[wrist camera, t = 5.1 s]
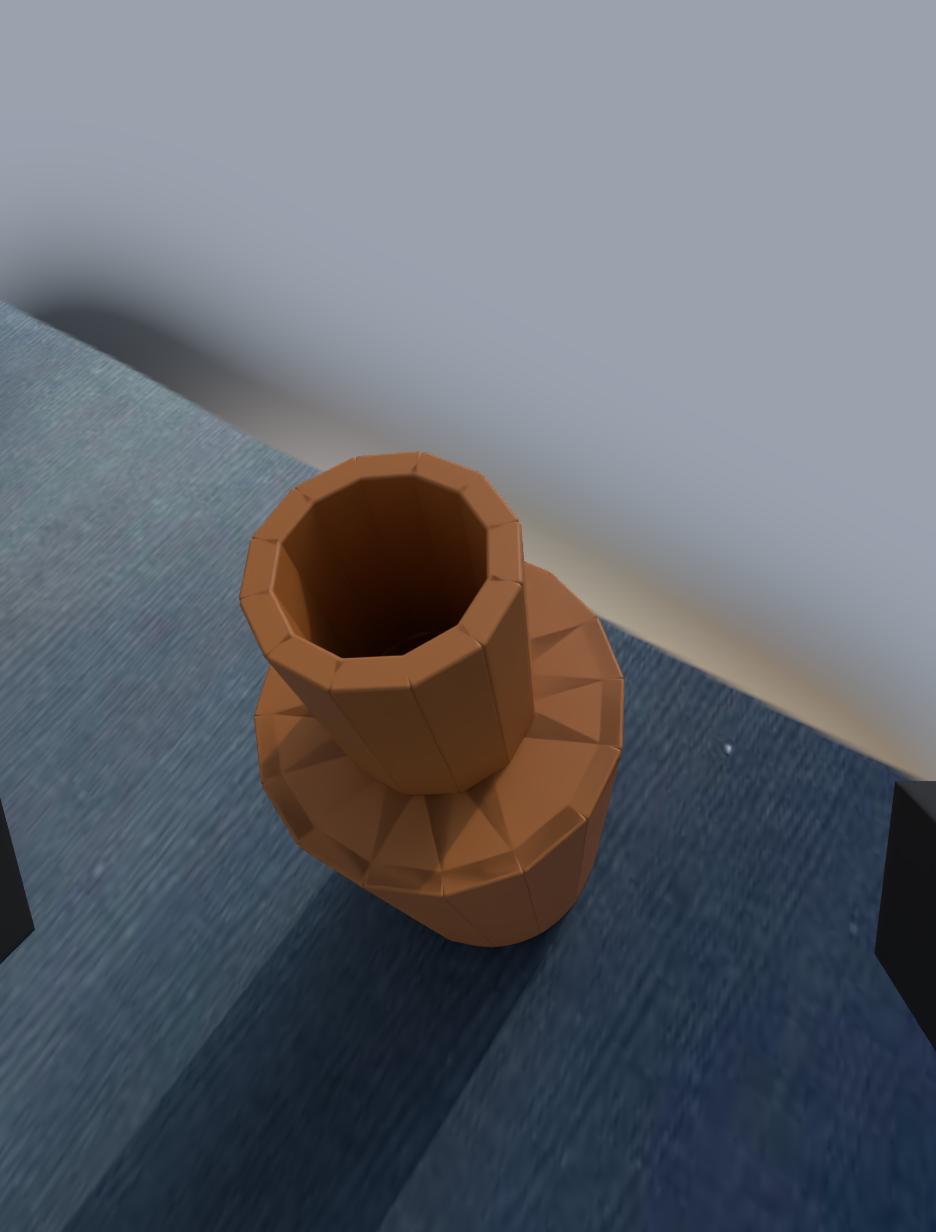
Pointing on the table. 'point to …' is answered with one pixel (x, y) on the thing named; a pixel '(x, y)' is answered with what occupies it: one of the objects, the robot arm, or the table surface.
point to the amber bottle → (431, 697)
